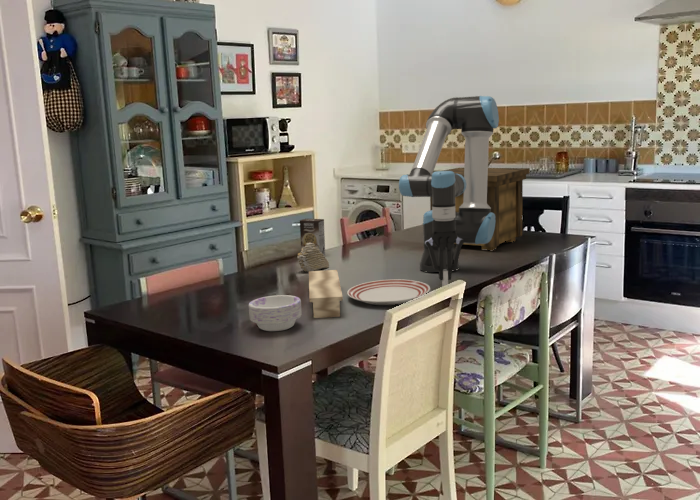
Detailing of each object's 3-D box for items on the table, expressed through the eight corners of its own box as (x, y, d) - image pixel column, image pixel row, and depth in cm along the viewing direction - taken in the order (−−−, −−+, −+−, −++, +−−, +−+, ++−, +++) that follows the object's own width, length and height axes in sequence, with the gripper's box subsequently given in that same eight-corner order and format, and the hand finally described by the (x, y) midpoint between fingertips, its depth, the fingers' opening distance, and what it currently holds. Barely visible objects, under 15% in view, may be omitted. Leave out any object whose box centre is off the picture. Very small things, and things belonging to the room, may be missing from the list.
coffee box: (300, 257, 301) (298, 220, 298) (307, 254, 307) (305, 218, 304) (320, 257, 298) (318, 220, 295) (326, 254, 304) (324, 218, 300)
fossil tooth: (331, 270, 278) (303, 274, 267) (321, 268, 282) (292, 271, 272) (333, 242, 276) (304, 245, 266) (322, 240, 280) (294, 242, 270)
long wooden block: (337, 286, 246) (337, 269, 245) (343, 316, 210) (342, 296, 209) (309, 288, 246) (308, 271, 245) (310, 318, 210) (309, 298, 208)
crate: (497, 254, 289) (497, 175, 283) (424, 247, 309) (422, 174, 303) (529, 239, 317) (529, 168, 311) (460, 234, 337) (459, 167, 331)
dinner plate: (368, 314, 212) (368, 304, 211) (334, 295, 236) (334, 285, 236) (446, 301, 222) (446, 291, 222) (405, 284, 247) (405, 275, 246)
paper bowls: (254, 320, 211) (253, 294, 209) (304, 318, 210) (303, 293, 208) (246, 336, 196) (243, 308, 194) (299, 334, 195) (298, 307, 194)
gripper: (426, 221, 221) (427, 293, 226) (466, 219, 222) (467, 291, 227) (422, 218, 229) (423, 287, 233) (461, 216, 229) (462, 285, 234)
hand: (445, 289), depth 230 cm, fingers closed
